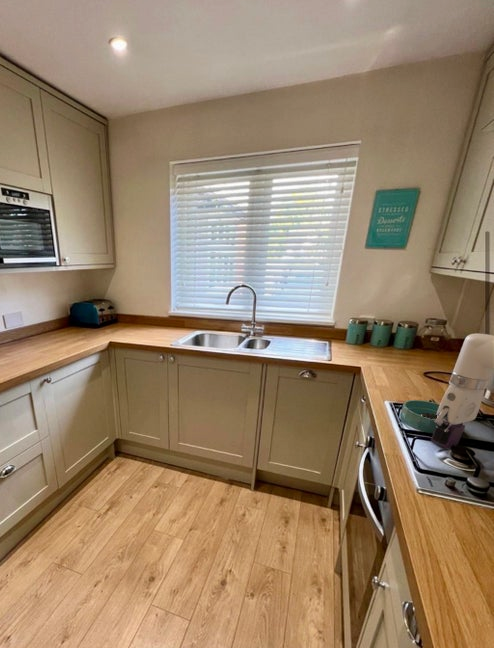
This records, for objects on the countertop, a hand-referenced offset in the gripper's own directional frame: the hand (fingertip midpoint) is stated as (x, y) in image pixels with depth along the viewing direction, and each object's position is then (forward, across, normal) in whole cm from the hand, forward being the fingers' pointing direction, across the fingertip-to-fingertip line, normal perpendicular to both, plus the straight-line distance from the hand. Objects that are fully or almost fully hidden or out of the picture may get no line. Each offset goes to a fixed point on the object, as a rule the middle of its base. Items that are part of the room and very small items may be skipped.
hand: (445, 439), depth 94 cm
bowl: (+2, +8, +10) cm, 14 cm away
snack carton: (+1, 0, 0) cm, 1 cm away
